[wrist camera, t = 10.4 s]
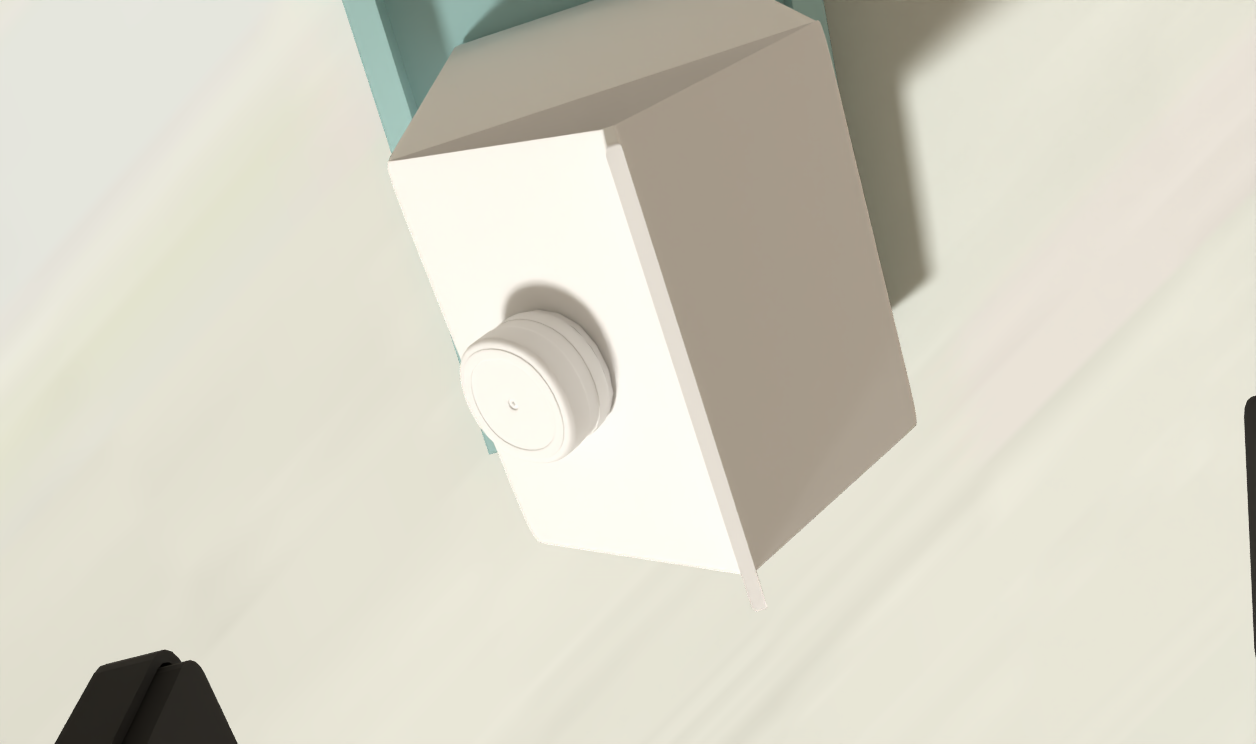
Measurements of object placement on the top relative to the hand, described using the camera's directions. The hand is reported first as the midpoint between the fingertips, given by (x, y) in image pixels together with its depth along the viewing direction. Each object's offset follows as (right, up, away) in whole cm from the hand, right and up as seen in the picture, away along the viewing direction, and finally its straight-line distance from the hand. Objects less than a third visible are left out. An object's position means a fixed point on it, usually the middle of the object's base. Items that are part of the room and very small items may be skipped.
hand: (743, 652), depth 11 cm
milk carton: (-1, +9, +23) cm, 25 cm away
